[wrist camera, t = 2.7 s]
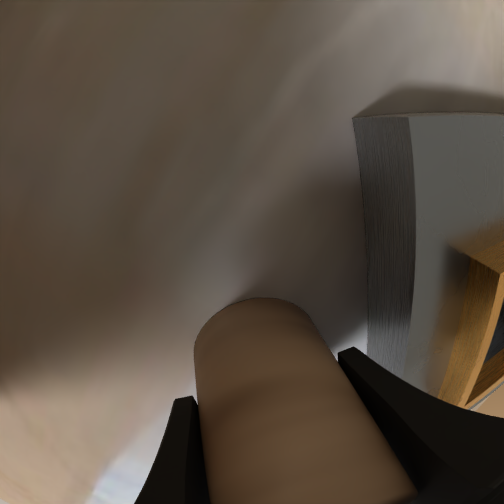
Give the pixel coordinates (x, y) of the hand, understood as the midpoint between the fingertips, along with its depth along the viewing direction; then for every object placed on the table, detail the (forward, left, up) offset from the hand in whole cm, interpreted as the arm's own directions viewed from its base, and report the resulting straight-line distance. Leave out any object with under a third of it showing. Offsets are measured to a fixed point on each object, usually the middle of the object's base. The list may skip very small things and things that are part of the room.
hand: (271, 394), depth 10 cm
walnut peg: (0, 0, -2) cm, 2 cm away
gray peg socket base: (-1, -12, -2) cm, 12 cm away
